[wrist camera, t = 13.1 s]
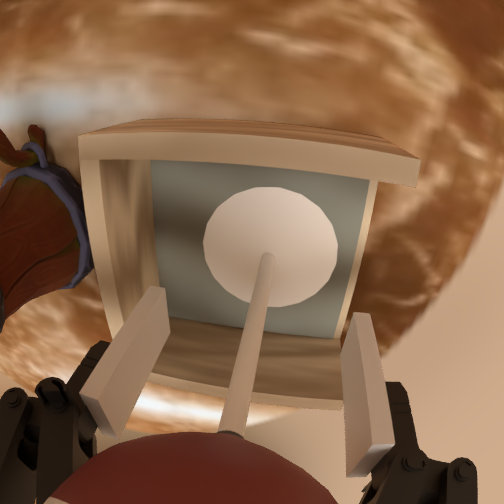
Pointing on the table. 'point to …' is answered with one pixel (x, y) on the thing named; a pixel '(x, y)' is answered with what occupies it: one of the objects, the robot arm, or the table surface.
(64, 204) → the brown pitcher
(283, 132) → the square tray
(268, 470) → the wineglass
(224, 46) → the table surface
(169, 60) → the table surface
